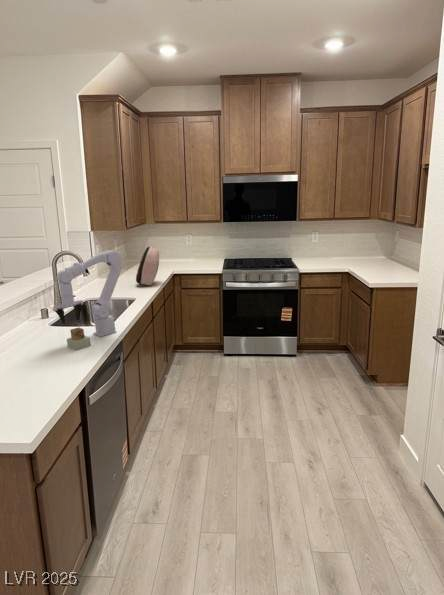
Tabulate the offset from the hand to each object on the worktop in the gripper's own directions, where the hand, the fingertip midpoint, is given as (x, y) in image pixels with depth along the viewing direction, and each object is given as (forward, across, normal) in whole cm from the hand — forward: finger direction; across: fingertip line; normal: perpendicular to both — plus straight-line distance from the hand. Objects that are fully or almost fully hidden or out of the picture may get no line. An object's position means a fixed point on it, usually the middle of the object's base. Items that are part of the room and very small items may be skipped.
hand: (70, 321), depth 205 cm
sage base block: (+10, +2, +9) cm, 14 cm away
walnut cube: (+6, +2, +9) cm, 11 cm away
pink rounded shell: (+10, -101, -74) cm, 126 cm away
